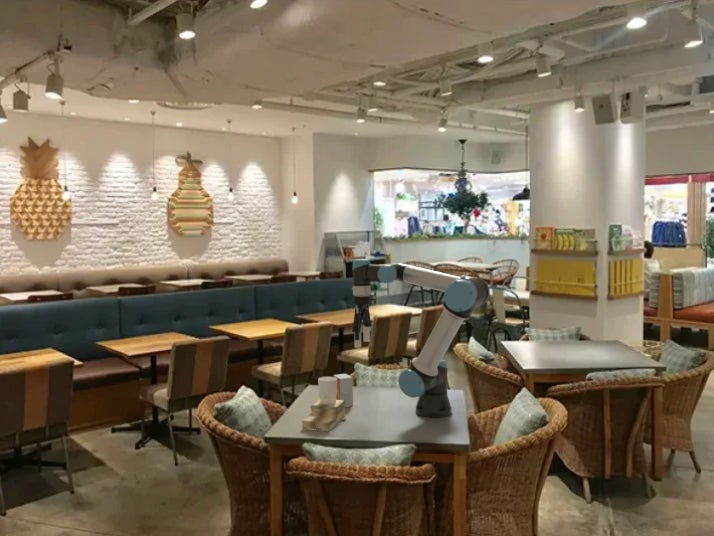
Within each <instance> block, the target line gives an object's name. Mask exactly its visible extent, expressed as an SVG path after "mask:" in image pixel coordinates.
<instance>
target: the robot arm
mask: <svg viewBox="0 0 714 536" xmlns="http://www.w3.org/2000/svg"><path fill="white" fill-rule="evenodd" d="M351 270H352V287H351V290H352V295H353V296H352V304H353V305H354V306H357V307H356V308H354V316H353V323H352V330H351V332H352V333H354V334H353V335H354V339H353V340H354V348H355V349H357V348H358V349H359V348H360V349H361V348H362V332H361V328H363V329H362V330H363V342H364V343H367V342H368V343H370V342H371V334H370V333H371V330H370V329H371V328H370V327H372V325H373V324H372V320H371V314H370V305H371V301H372V300H371V283H383V284H392V283H393V282H395V281H396V282H398V281H399V282H403V283H407V284H411V285H415V286H419V287H423V288H427V289H431V290H434V291H435V290H436V291H439V292H443V293H444V295H443V298H444V301H443V302H442V307H443V311H442V312H441V313H440V316H439V318H438V319H437V322H436V324H435V325H434V328H433V329H432V331H431V333H430V335H429V336H428V338H427V340H426V342H425V343H424V346H423V348H422V349H421V351H420V353H419V355H418V356H417V357H414V358H413V357H412V360H411V361H410V363H409V365H408V367H407V369H404V370H402V371H401V373H399V376H398V385H399V388H400V391H401V392H402V393H403V394H404V395H405V396H407V397H409V398H414V399H415V398H418V399H417V402H416V406H415V413H416V415H419V416H421V417H426V418H442V417H443V418H444V417H447V416H450V415H452V408H453V407H452V405H451V403H450V399H449V395H448V362H447V360H445V359H443V357H444V356H445V354H446V352H447V351H448V349H449V347H450V346H451V343H452V341H453V340H454V338H455V336H456V335H457V333H458V331H459V329H460V327H461V326H462V324H463V322H464V321H465V320H469V319H470V318H471V316H472V314H473V313H474V311H475V309H476V308H478V307H480V306H483V305H484V304H486V302H488V300H489V297H490V294H491V289H490V286H489V284H488V283H487V281H486V280H485V279H483V278H481V277H478V276H470V275H465V274H463V275H461V276H457V275H454V274H451V273H450V274H449V273H444V272H440V271H436V270H432V269H429V268H428V269H427V268H422V267H418V266H414V265H410V264H407V263H406V262H401V261H400V262H399V261H398V262H397V261H396V262H393V263H392V262H391V263H383V264H381V263H380V264H373V263H371V260H370V259H368V258H367V259H366V258H358V259H354V260H353V261H352V269H351ZM362 323H363V327H362Z"/></svg>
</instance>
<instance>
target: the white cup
mask: <svg viewBox="0 0 714 536" xmlns="http://www.w3.org/2000/svg"><path fill="white" fill-rule="evenodd" d="M317 379H318V380H317V383H318V385H317V386H318V387H317V388H318V398H319V399H320V403H321V404H324V405H331V404H335V403H336V395H337V378H335V377H333V376H321V377H318V378H317Z"/></svg>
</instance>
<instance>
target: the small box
mask: <svg viewBox="0 0 714 536" xmlns="http://www.w3.org/2000/svg"><path fill="white" fill-rule="evenodd" d="M332 377H335V378H337V395H336V400H344V401H345V404H344V408H347V407H353V406H354V392H353V391H354V390H353V389H354V388H353V387H354V386H353V385H354V384H353V383H354V381H353V376H351V375H349V374H348V373H340V374H333V376H332Z"/></svg>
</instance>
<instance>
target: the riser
mask: <svg viewBox="0 0 714 536" xmlns="http://www.w3.org/2000/svg"><path fill="white" fill-rule="evenodd" d="M344 404H345V401H344V400H336V403H335V404H331V405H324V404H321V403H320V398H318V399H317V400H316V401H315V402H313V403H312V404H311V405H310V411H311V413H310V414H309V415H308V416H306V417H305V418H304V419H302V420H301V422H302V426H301V427H302V428H303V429H314V430H313V431H315V429H316V430H324V431H323V432H327V431H329V430H330V431H331V430H332V429H334V427H336V425H338V423H340V422H346V421H347V418H346V415H345V407H344ZM303 429H302V430H303ZM330 431H329V432H330Z"/></svg>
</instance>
